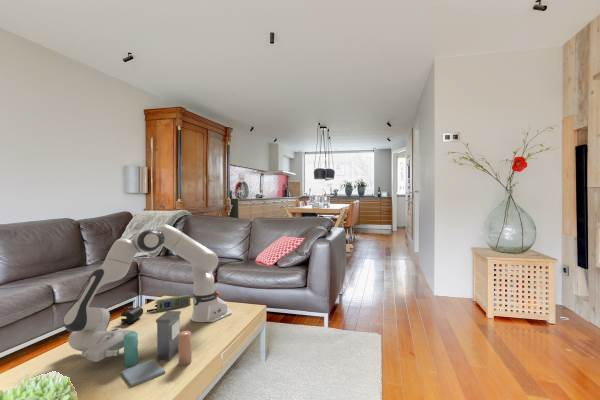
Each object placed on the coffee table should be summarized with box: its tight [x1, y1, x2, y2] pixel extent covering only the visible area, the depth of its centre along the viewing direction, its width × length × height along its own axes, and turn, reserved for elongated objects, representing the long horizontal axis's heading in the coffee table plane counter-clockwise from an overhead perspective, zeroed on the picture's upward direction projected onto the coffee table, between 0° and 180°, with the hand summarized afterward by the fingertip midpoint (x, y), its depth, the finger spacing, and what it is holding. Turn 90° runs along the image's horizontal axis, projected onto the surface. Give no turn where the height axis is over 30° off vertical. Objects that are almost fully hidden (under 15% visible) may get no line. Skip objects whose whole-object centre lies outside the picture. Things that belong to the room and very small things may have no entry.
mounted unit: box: [155, 310, 182, 362], centre depth 134 cm, size 10×6×17 cm, turn 176°
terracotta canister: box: [177, 330, 192, 366], centre depth 128 cm, size 5×5×12 cm
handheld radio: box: [146, 294, 191, 313], centre depth 190 cm, size 7×3×25 cm
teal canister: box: [123, 331, 139, 368], centre depth 127 cm, size 5×5×12 cm
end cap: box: [120, 305, 144, 325], centre depth 172 cm, size 10×7×7 cm
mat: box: [120, 359, 166, 387], centre depth 120 cm, size 12×12×1 cm
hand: (127, 347), depth 128 cm, fingers open, 8 cm apart
